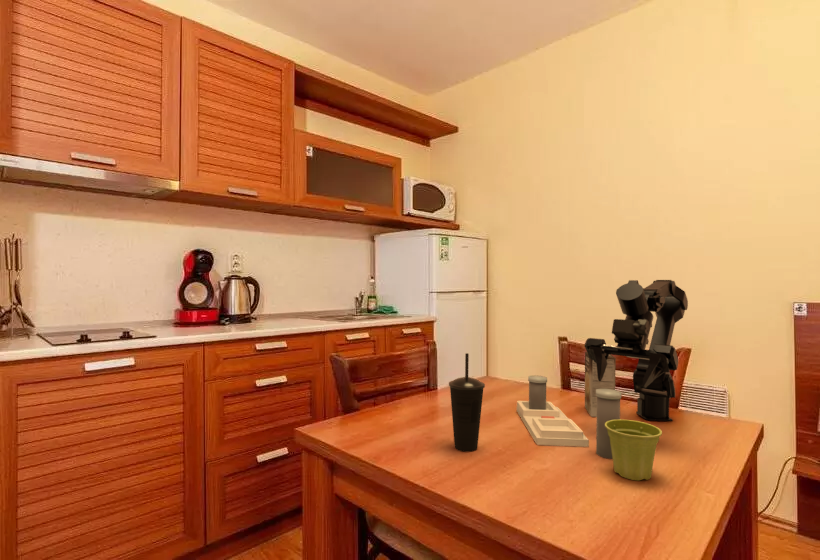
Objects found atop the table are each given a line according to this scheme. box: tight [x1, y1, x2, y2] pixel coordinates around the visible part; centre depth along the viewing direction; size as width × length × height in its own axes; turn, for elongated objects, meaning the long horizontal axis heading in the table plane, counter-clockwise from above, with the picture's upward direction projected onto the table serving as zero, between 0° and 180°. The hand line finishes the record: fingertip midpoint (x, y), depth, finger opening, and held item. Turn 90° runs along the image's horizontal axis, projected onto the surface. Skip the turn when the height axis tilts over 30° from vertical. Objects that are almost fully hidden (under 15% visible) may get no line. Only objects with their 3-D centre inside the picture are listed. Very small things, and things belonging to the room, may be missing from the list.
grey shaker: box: [595, 389, 622, 460], centre depth 89 cm, size 5×5×13 cm
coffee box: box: [584, 351, 617, 418], centre depth 119 cm, size 9×6×16 cm
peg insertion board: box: [516, 374, 590, 448], centre depth 106 cm, size 11×25×10 cm, turn 176°
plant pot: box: [605, 418, 663, 482], centre depth 80 cm, size 9×9×9 cm
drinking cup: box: [448, 352, 486, 453], centre depth 92 cm, size 8×8×20 cm
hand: (620, 383), depth 95 cm, fingers open, 9 cm apart
